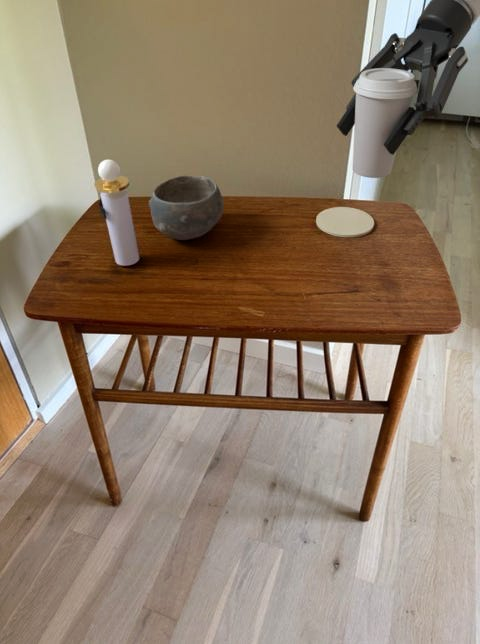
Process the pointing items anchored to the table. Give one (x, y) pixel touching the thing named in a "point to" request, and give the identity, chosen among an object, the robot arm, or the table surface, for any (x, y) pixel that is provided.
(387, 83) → the coffee cup
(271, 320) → the table surface
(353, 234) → the cream mat
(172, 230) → the bowl
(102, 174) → the perfume bottle
